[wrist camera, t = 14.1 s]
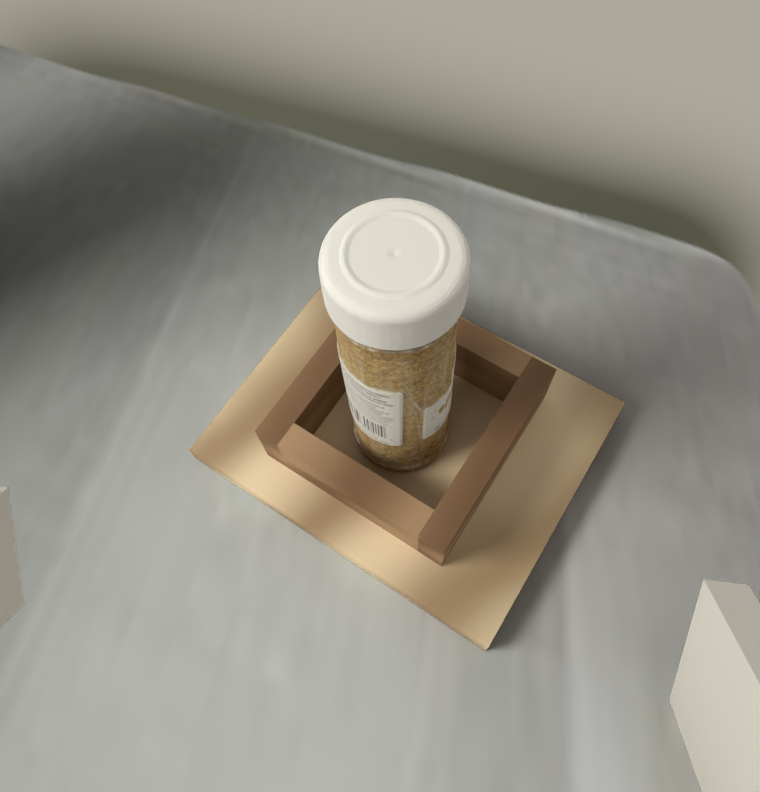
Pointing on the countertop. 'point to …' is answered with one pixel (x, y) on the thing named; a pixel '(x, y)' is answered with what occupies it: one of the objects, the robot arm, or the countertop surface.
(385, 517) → the socket board
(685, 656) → the robot arm
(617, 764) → the countertop surface
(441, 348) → the sprinkles bottle
